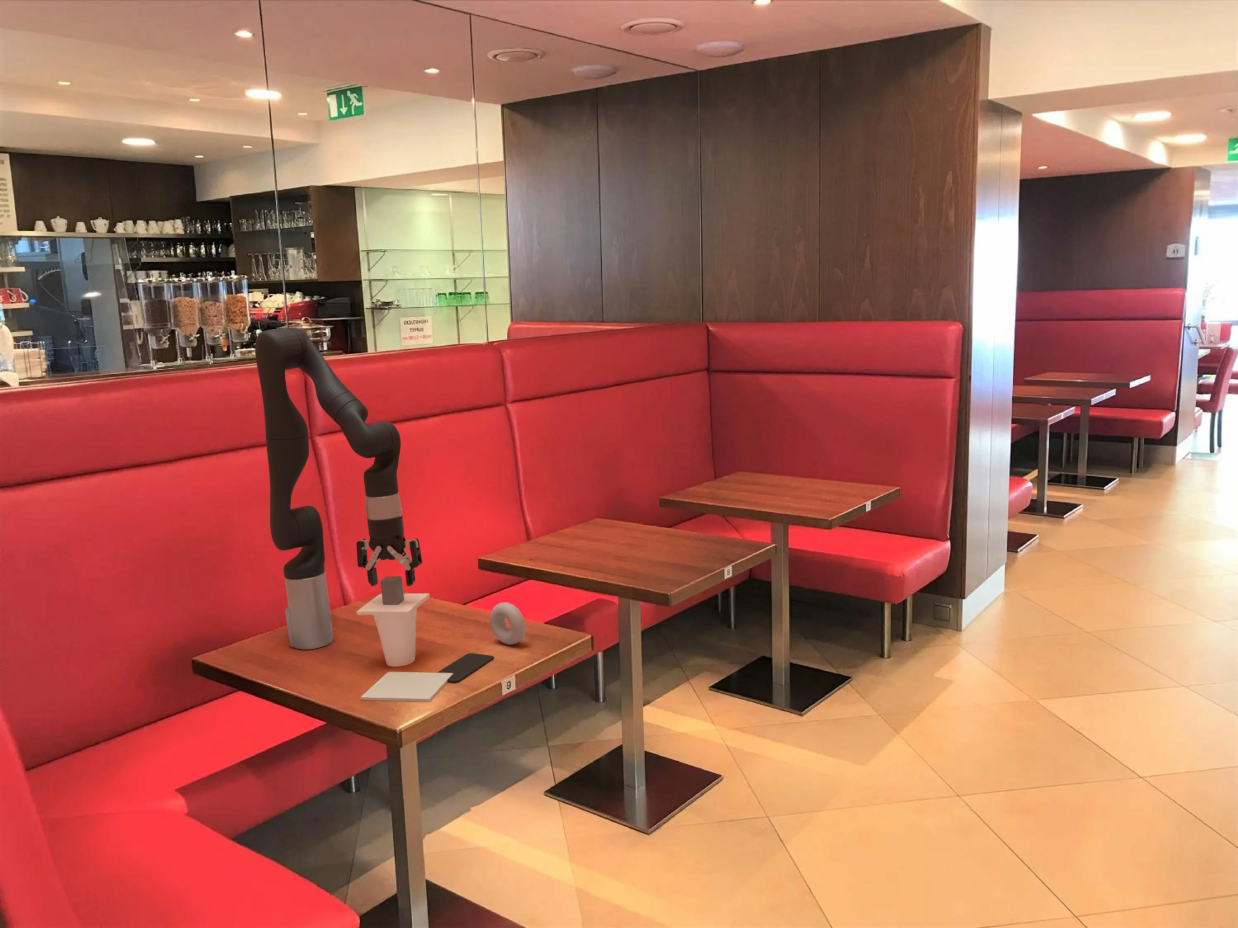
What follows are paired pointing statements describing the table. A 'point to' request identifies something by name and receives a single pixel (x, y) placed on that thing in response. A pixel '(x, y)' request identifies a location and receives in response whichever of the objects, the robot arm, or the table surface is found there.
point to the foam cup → (397, 637)
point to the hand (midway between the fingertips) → (392, 585)
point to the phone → (466, 666)
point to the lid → (393, 599)
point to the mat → (407, 686)
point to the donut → (500, 627)
